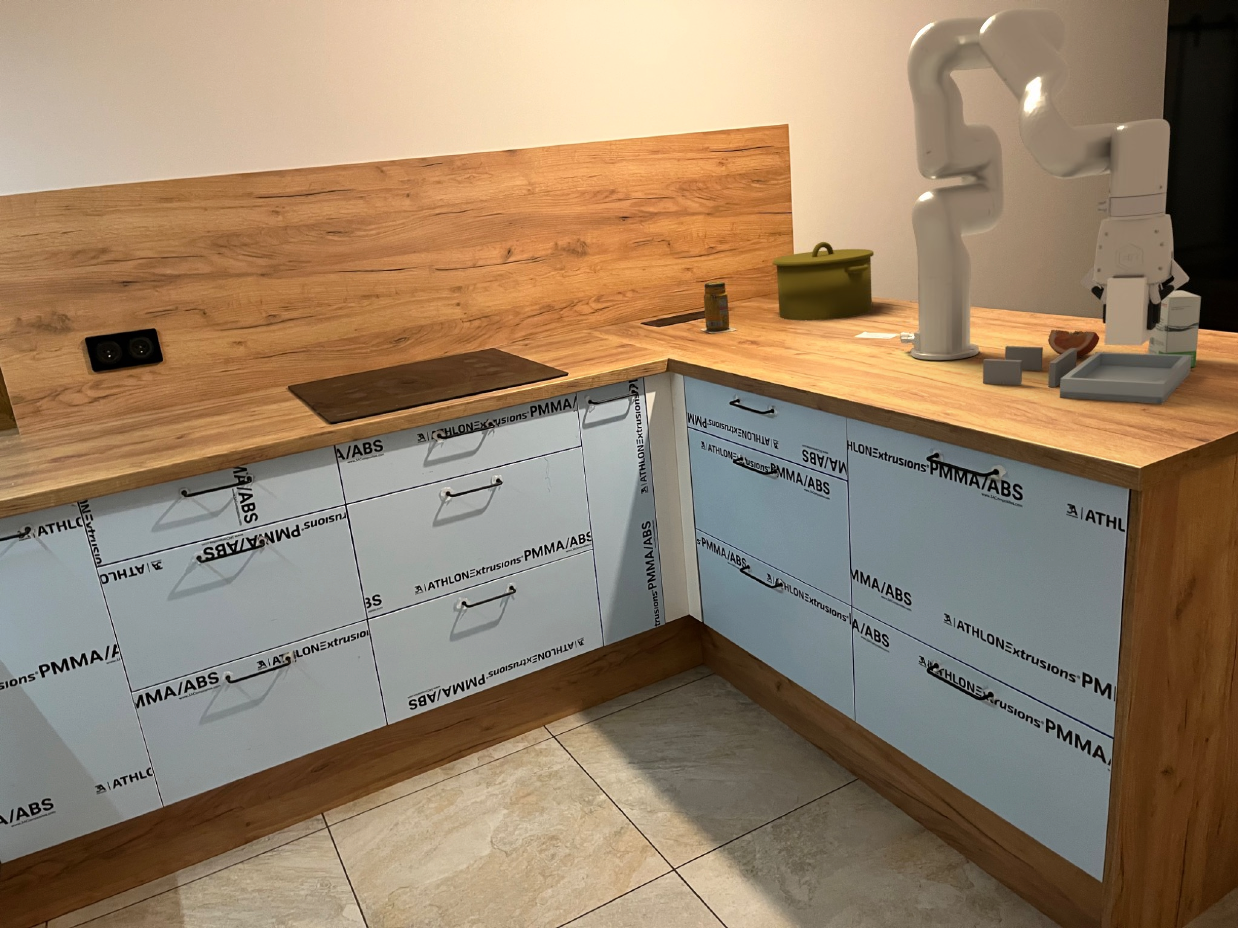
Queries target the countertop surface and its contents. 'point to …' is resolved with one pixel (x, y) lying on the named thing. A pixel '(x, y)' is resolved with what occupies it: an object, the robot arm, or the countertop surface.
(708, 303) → the condiment
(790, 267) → the cooking pot
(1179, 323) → the ink box
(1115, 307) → the grey-panelled white block
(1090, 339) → the fruit slice
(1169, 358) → the tray
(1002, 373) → the dock
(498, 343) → the countertop surface
